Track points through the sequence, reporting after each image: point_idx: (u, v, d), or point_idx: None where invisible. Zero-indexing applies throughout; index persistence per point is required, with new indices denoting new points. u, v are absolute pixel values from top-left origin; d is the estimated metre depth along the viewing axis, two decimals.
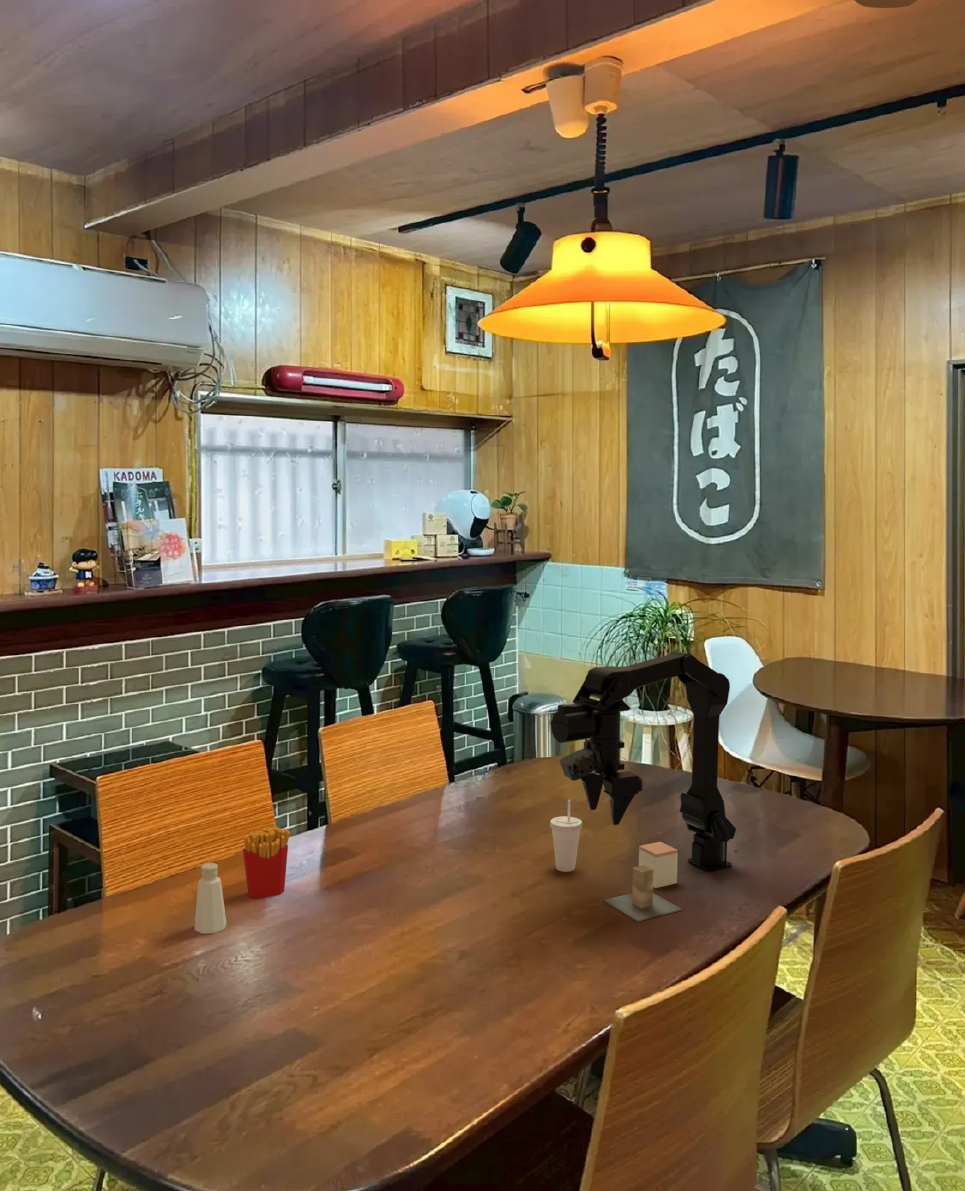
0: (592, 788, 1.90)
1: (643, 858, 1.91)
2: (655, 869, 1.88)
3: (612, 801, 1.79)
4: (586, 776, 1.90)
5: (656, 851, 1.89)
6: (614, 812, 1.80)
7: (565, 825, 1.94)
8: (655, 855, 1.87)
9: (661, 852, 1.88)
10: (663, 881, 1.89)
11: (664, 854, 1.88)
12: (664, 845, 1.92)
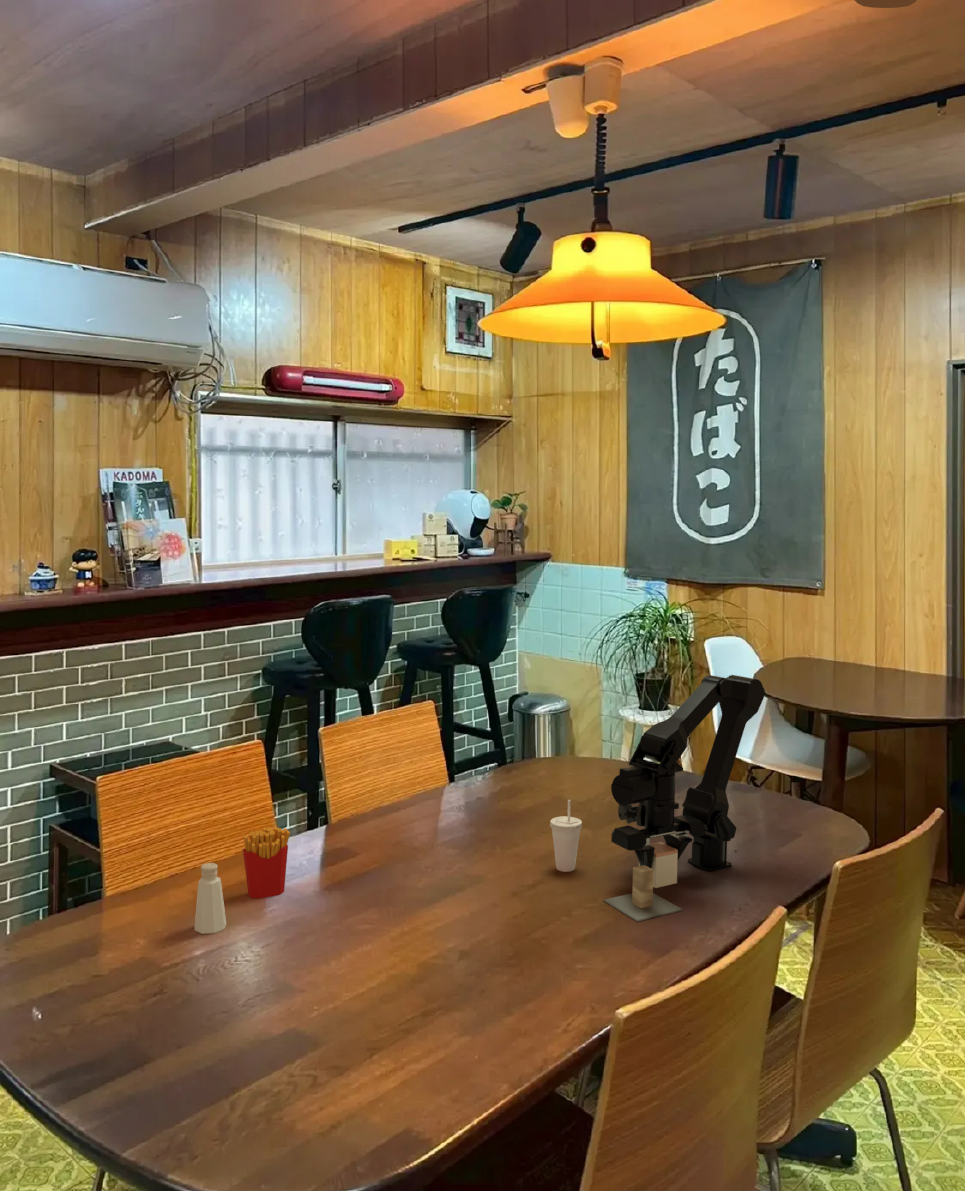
0: None
1: None
2: (655, 869, 1.88)
3: None
4: (667, 837, 1.93)
5: (656, 851, 1.89)
6: None
7: (565, 825, 1.94)
8: (655, 855, 1.87)
9: (661, 852, 1.88)
10: (663, 881, 1.89)
11: (664, 854, 1.88)
12: (664, 845, 1.92)
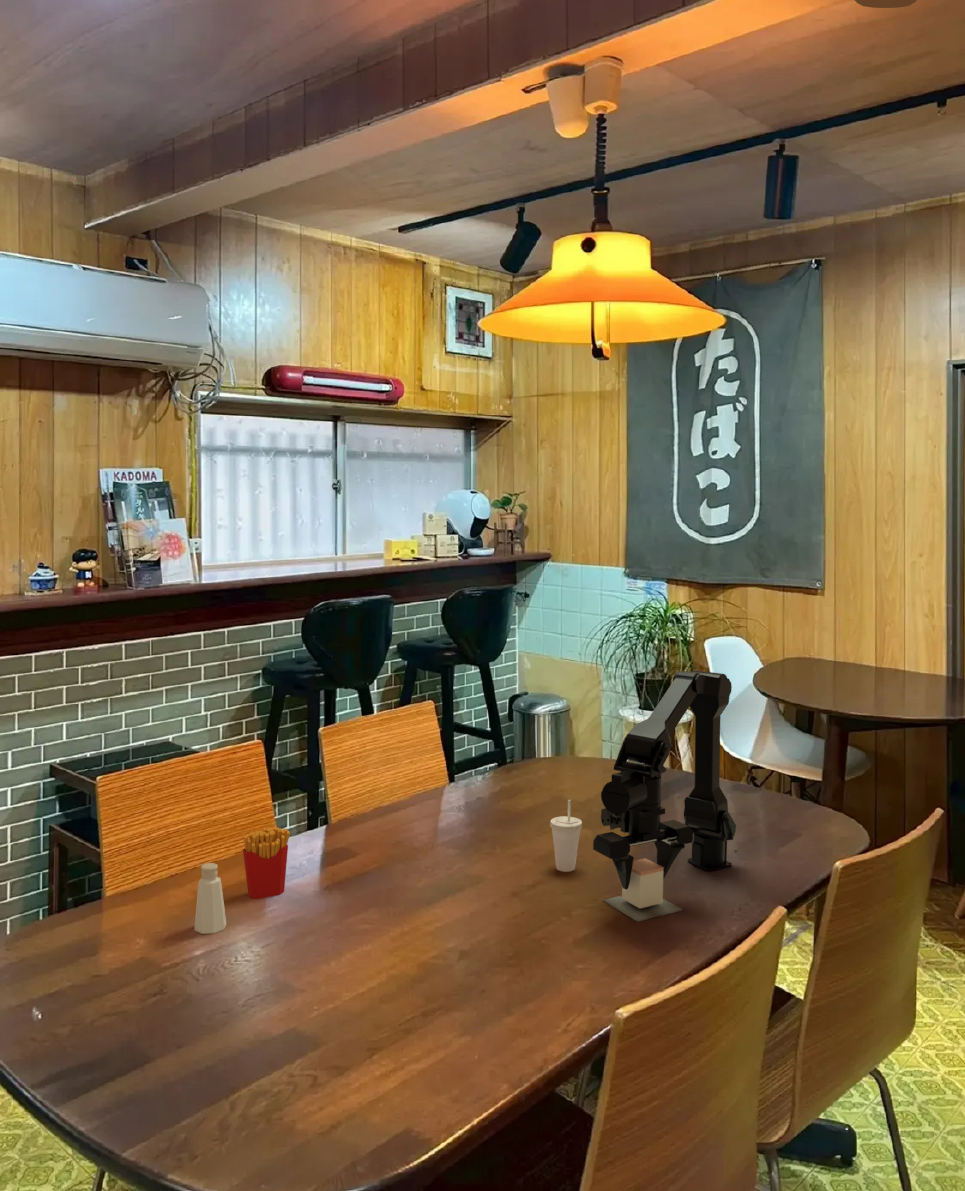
0: (661, 858, 1.81)
1: None
2: (639, 888, 1.76)
3: None
4: (658, 843, 1.82)
5: (640, 869, 1.77)
6: (618, 873, 1.77)
7: (565, 825, 1.94)
8: (639, 873, 1.76)
9: (646, 870, 1.76)
10: (647, 900, 1.77)
11: (649, 872, 1.76)
12: (649, 862, 1.80)
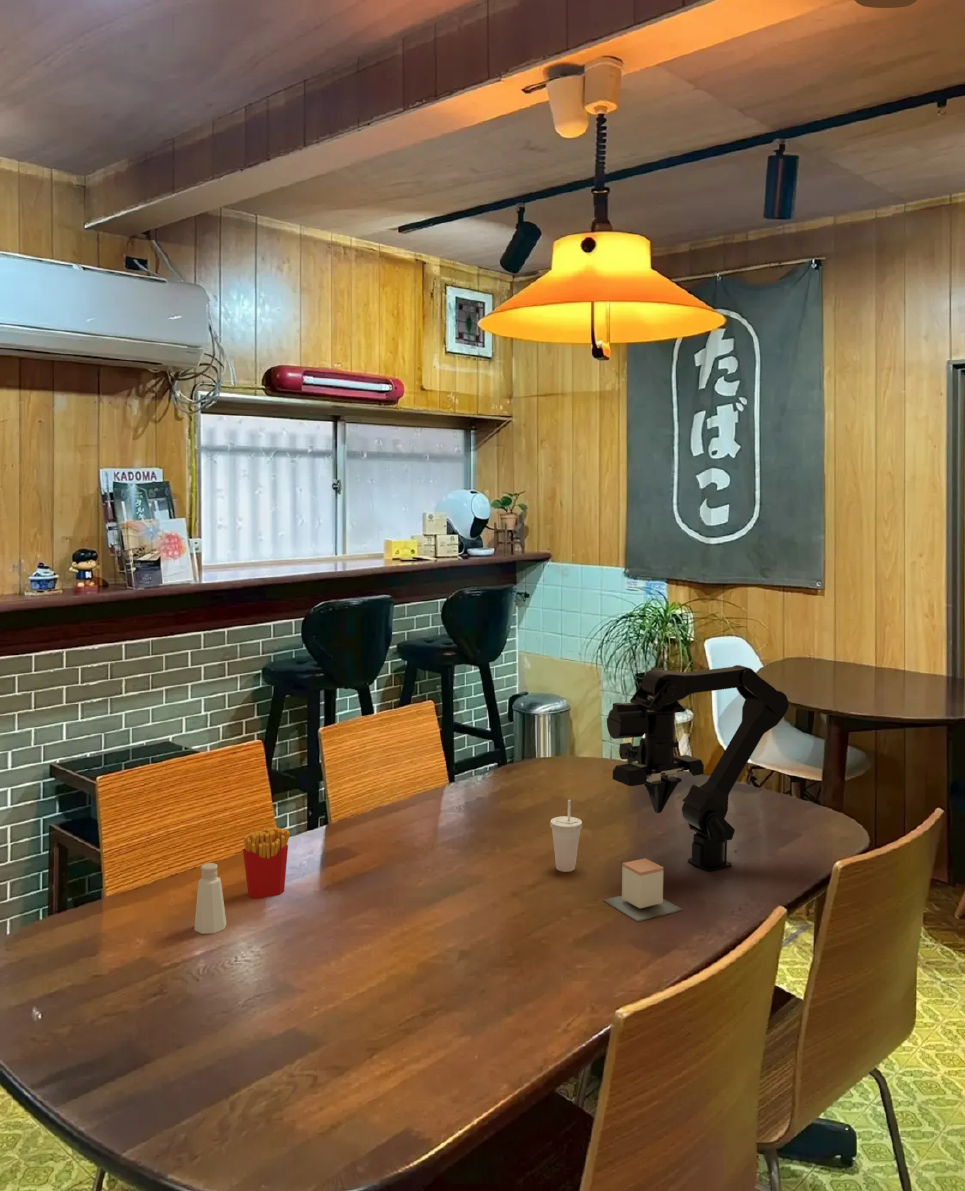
0: None
1: (627, 876, 1.79)
2: (639, 888, 1.76)
3: None
4: None
5: (640, 869, 1.77)
6: (650, 798, 1.95)
7: (565, 825, 1.94)
8: (639, 873, 1.76)
9: (646, 870, 1.76)
10: (647, 900, 1.77)
11: (649, 872, 1.76)
12: (649, 862, 1.80)
